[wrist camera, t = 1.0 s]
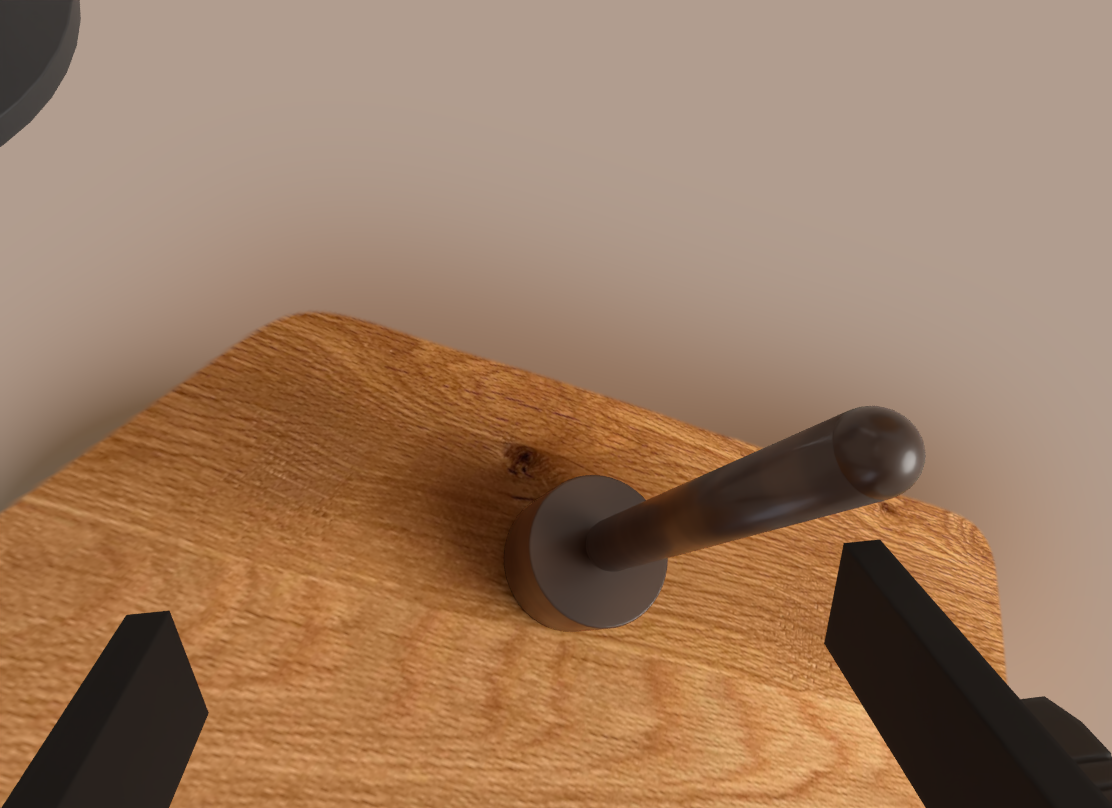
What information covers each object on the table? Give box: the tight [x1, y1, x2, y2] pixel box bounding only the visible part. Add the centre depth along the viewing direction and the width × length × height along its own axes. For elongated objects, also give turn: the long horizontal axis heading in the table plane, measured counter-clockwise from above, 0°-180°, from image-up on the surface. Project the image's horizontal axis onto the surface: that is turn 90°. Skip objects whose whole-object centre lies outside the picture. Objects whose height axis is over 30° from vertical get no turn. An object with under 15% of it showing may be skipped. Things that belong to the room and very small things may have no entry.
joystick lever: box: [504, 406, 925, 632], centre depth 21 cm, size 6×6×18 cm
